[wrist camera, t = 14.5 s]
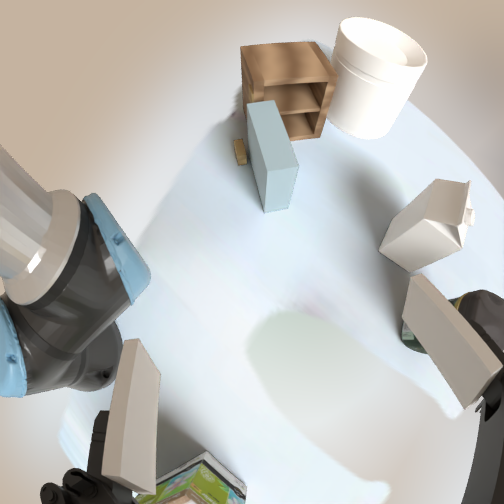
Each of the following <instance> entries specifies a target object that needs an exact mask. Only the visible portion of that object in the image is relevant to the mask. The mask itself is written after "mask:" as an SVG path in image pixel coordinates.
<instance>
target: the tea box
mask: <svg viewBox="0 0 504 504" xmlns="http://www.w3.org/2000/svg"><path fill="white" fill-rule="evenodd" d="M246 492H247V486H246V485H244V484H243V483H242V482H241V481H240V480H238V479H237V478H236V477H235V476H234V475H232V474H231V473H230V472H229V471H228V470H227V469H226V468H225V467H224V466H222V465H221V464H220V463H219V462H218V461H217V460H216V459H215V458H214V457H213V456H212V455H211V454H210V453H209V452H208V451H206V452H204V453H202V454H201V455H199V456H197V457H195V458H194V459H192V460H191V461H189V462H187V463H185V464H183V465H182V466H180V467H178V468H177V469H175V470H173V471H171V472H169V473H168V474H166V475H164V476H162V477H160V478H158V479H157V480H156V495H151V494H138V495H137V496H136V498H135V499H136V500H137V502H138V503H139V504H245V500H246Z"/></svg>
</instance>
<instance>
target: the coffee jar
mask: <svg viewBox="0 0 504 504" xmlns="http://www.w3.org/2000/svg"><path fill="white" fill-rule="evenodd" d="M448 301H449V302H450V303H451V304H452V305H453V306H454V307H455V308H456V310H457V311H458V312H459V313H460V314H461V315H462V316H463V317H464V318H465V320H466V321H469V320H471V319H472V320H473V321H475V322H477V323H478V324H480V325H481V326H482V327H483V329H484V330H485V331H486V333H487V334H489V336H490V337H491V339H493V340H494V341H495V343H496V344H497V345H498V346H499V348H500V349H501V350H502V351H503V350H504V299H502V298H501V297H499V296H497V295H496V294H494V293H491V292H489V291H486V290H477V291H473V292H468V293H466V294H464V295H462V296H461V297H458V298H455V299H450V300H448ZM402 341H403V343H404V344H405V345H406V346H407V347H408V348H410V349H412V350H414V351H417V352H420V353H424V354H428V353H427V352H426V350H425V349H424V348H423V346H422V345H421V343H420V342H419V341H418V339H417V338H416V336H415V335H414V334H413V332H412V331H411V330H410V328H409V327H408V325H407V324H406V323H405V321H404V323H403V327H402Z"/></svg>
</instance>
